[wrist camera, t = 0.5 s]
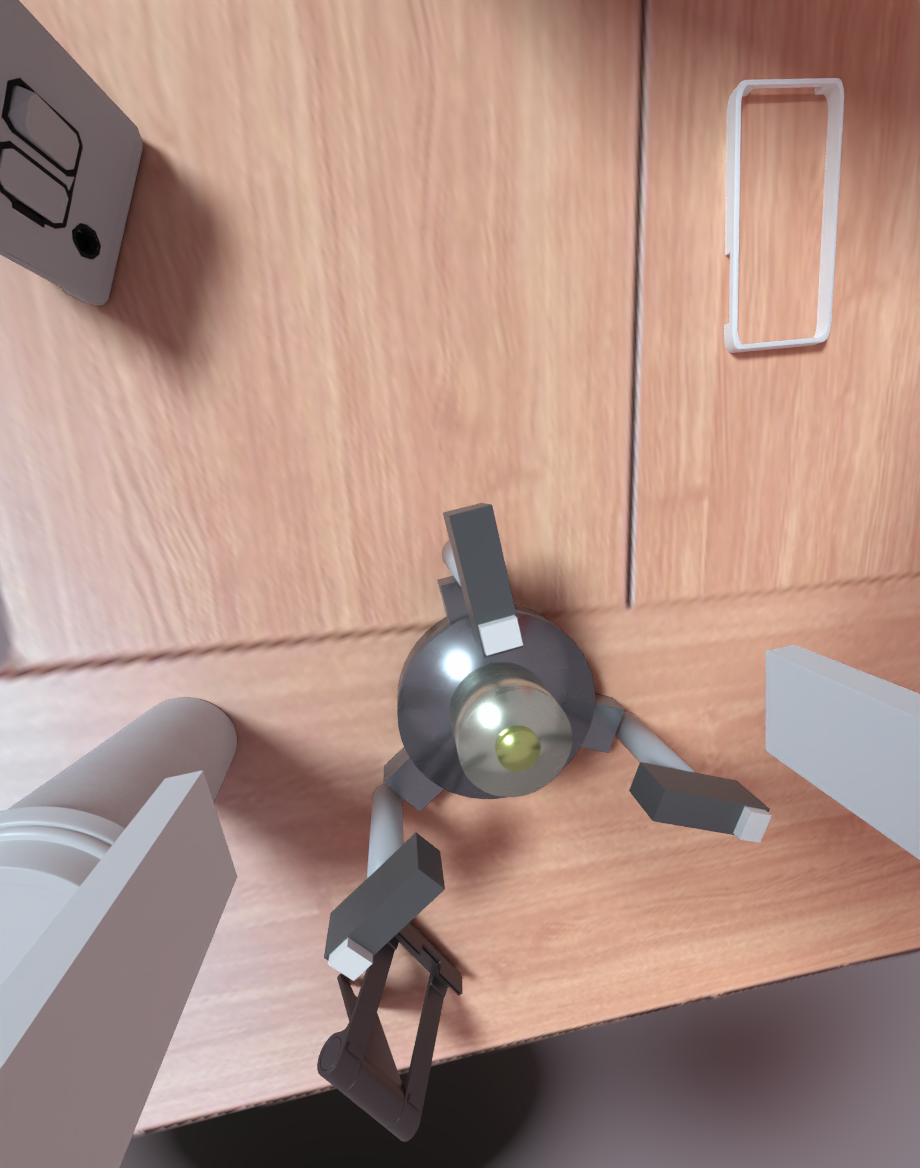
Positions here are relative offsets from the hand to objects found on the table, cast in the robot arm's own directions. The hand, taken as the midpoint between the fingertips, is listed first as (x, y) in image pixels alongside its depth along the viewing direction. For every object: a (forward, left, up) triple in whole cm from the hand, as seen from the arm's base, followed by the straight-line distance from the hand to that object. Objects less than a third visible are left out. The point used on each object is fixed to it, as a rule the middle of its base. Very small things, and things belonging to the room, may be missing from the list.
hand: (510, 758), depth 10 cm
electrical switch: (-15, -24, -22) cm, 36 cm away
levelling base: (+7, +8, -22) cm, 24 cm away
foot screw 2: (-2, +1, -22) cm, 22 cm away
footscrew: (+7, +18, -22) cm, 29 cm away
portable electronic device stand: (+32, +6, -22) cm, 40 cm away
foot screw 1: (+17, +1, -22) cm, 27 cm away
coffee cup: (+15, -13, -22) cm, 30 cm away
